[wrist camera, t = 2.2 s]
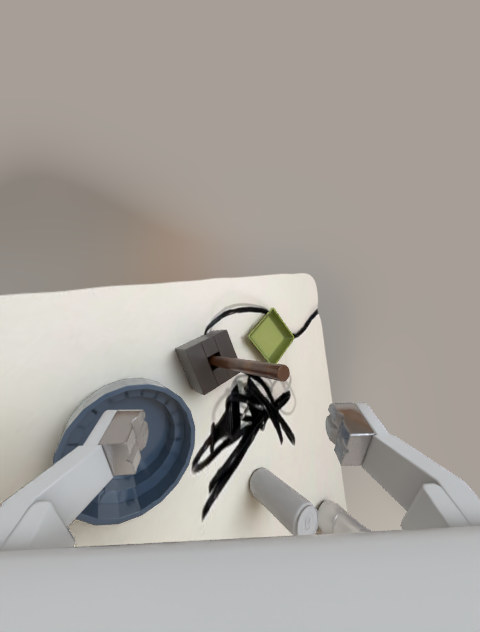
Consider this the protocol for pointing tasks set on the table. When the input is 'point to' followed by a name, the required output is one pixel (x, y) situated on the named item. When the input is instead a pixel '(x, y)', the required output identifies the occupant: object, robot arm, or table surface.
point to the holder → (206, 360)
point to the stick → (251, 367)
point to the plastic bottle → (337, 520)
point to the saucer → (271, 337)
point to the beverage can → (284, 503)
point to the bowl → (156, 457)
